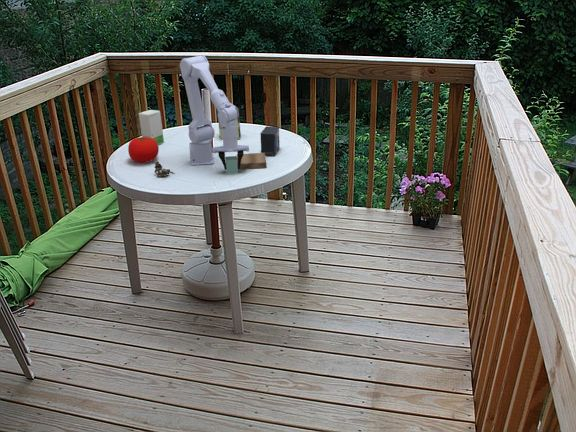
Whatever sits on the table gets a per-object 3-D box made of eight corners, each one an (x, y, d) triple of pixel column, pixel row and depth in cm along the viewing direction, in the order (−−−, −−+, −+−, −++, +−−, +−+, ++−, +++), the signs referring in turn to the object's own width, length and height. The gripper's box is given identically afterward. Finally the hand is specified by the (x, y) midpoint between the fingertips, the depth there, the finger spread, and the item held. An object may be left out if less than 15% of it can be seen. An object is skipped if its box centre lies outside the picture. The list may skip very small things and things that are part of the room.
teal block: (226, 174, 230) (225, 160, 228) (226, 170, 234) (225, 156, 232) (238, 173, 231) (237, 159, 228) (237, 169, 235) (236, 155, 232)
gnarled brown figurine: (174, 179, 225) (148, 169, 225) (170, 192, 229) (145, 181, 228) (184, 165, 235) (159, 155, 234) (180, 177, 239) (156, 167, 238)
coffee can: (228, 133, 280) (226, 105, 273) (245, 136, 275) (243, 107, 268) (215, 139, 272) (212, 110, 266) (232, 142, 267) (230, 113, 261)
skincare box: (152, 148, 263) (147, 115, 256) (142, 145, 266) (137, 113, 260) (164, 142, 270) (160, 110, 263) (154, 140, 273) (150, 108, 266)
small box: (275, 156, 248) (274, 133, 243) (260, 156, 249) (259, 133, 244) (280, 148, 257) (279, 126, 252) (266, 148, 258) (265, 125, 254)
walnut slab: (237, 169, 235) (237, 164, 234) (237, 159, 246) (236, 154, 244) (266, 168, 236) (266, 162, 235) (264, 158, 246) (264, 152, 245)
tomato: (129, 156, 253) (126, 134, 249) (159, 153, 256) (156, 131, 251) (130, 167, 241) (126, 144, 236) (160, 164, 243) (157, 141, 239)
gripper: (211, 140, 222) (214, 173, 228) (248, 138, 223) (250, 171, 229) (211, 135, 229) (214, 166, 235) (247, 133, 230) (249, 164, 236)
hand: (232, 168), depth 232 cm, fingers open, 5 cm apart
